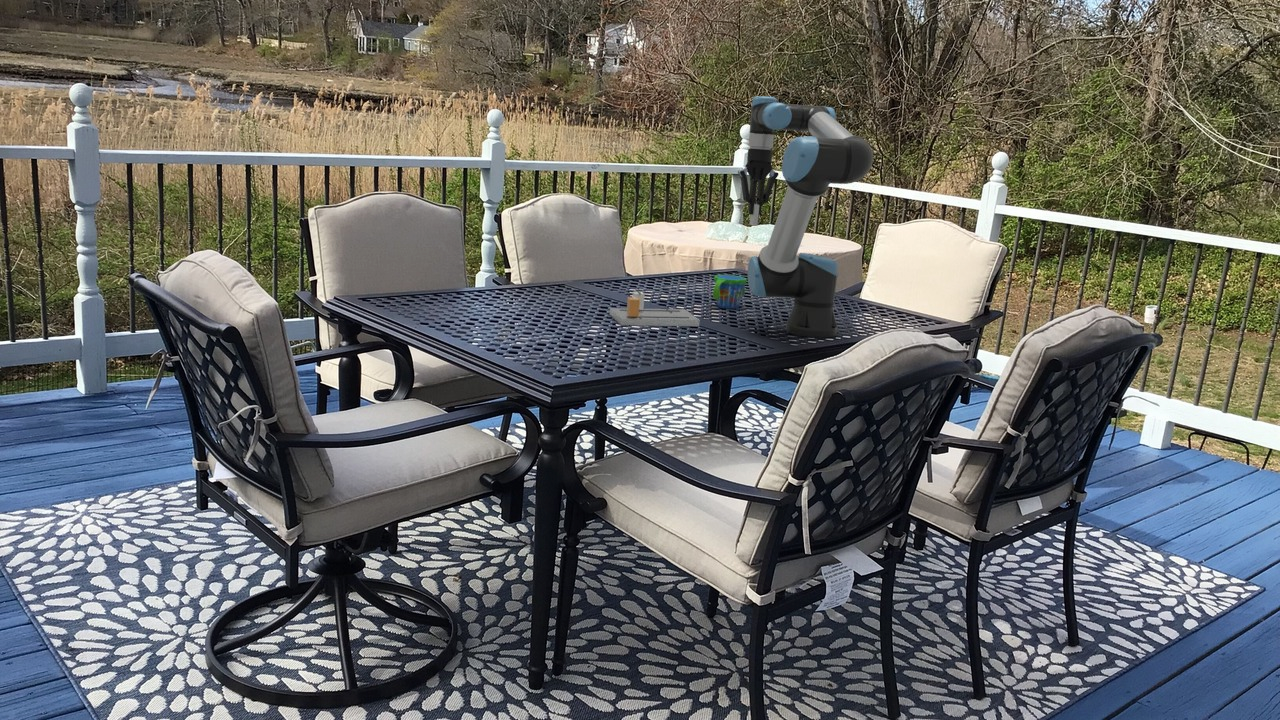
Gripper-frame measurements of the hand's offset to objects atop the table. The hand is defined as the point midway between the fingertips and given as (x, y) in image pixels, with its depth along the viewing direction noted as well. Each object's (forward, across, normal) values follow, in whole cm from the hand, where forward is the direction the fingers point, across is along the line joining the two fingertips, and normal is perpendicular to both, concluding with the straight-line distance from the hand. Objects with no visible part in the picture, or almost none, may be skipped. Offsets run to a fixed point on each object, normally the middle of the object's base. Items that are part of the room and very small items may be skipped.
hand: (753, 225), depth 307 cm
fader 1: (+27, +37, +2) cm, 45 cm away
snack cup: (+29, 0, -15) cm, 33 cm away
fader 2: (+27, +41, +12) cm, 51 cm away
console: (+29, +33, +8) cm, 45 cm away
